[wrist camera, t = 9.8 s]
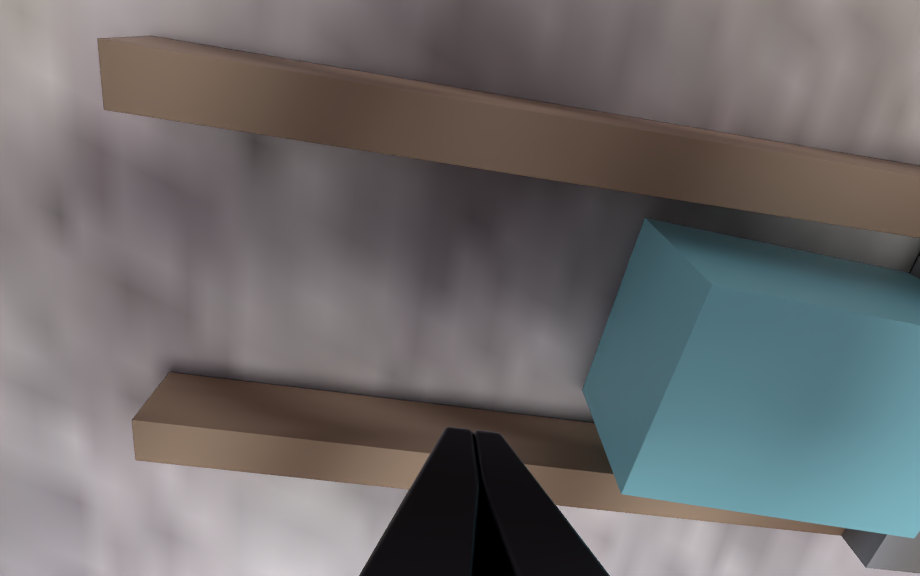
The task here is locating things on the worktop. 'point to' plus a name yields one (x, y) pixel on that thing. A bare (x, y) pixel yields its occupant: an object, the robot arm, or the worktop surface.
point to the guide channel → (490, 148)
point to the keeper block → (762, 381)
